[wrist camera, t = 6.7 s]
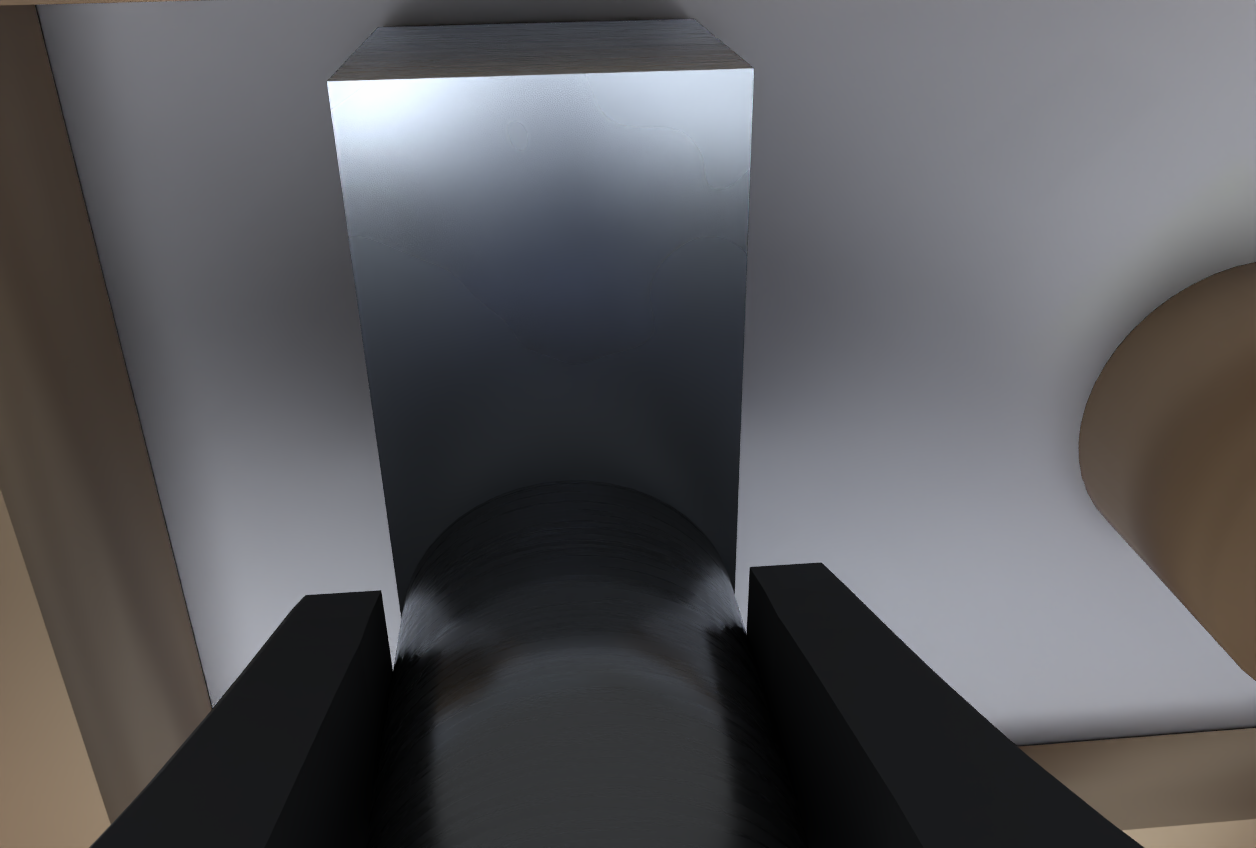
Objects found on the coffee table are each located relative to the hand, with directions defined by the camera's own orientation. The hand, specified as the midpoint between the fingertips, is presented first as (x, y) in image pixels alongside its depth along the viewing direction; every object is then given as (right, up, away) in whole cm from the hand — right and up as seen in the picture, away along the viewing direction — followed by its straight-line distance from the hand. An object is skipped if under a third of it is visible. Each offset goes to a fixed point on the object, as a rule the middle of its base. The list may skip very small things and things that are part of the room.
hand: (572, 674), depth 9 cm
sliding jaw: (0, +2, +3) cm, 4 cm away
